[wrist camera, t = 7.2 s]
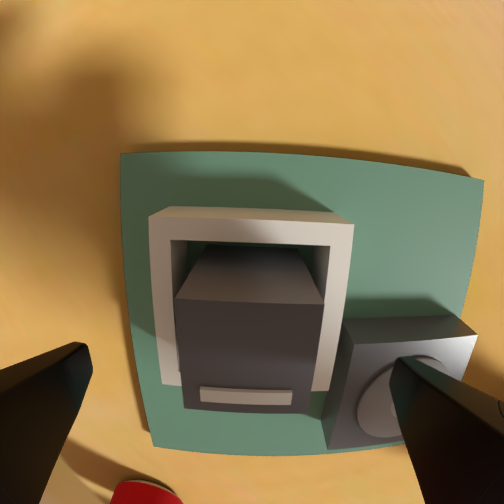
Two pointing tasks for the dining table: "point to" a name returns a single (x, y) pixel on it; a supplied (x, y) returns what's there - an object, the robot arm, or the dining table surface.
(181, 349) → the plug
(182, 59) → the dining table surface
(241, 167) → the board
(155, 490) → the beverage can
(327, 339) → the header socket
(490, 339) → the dining table surface
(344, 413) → the fan housing
